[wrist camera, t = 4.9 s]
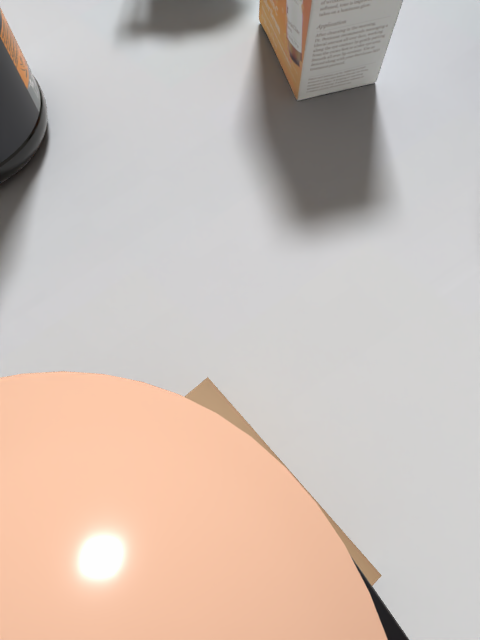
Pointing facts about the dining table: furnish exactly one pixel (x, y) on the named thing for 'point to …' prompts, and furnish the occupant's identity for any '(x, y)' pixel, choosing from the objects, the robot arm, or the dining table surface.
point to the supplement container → (18, 106)
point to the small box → (329, 41)
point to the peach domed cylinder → (158, 524)
